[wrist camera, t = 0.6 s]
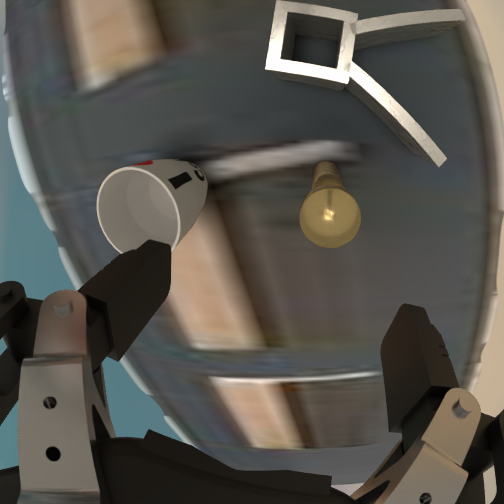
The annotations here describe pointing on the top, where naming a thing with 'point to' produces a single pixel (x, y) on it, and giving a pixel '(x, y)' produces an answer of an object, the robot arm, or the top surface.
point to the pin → (329, 209)
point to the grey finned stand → (347, 72)
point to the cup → (151, 202)
